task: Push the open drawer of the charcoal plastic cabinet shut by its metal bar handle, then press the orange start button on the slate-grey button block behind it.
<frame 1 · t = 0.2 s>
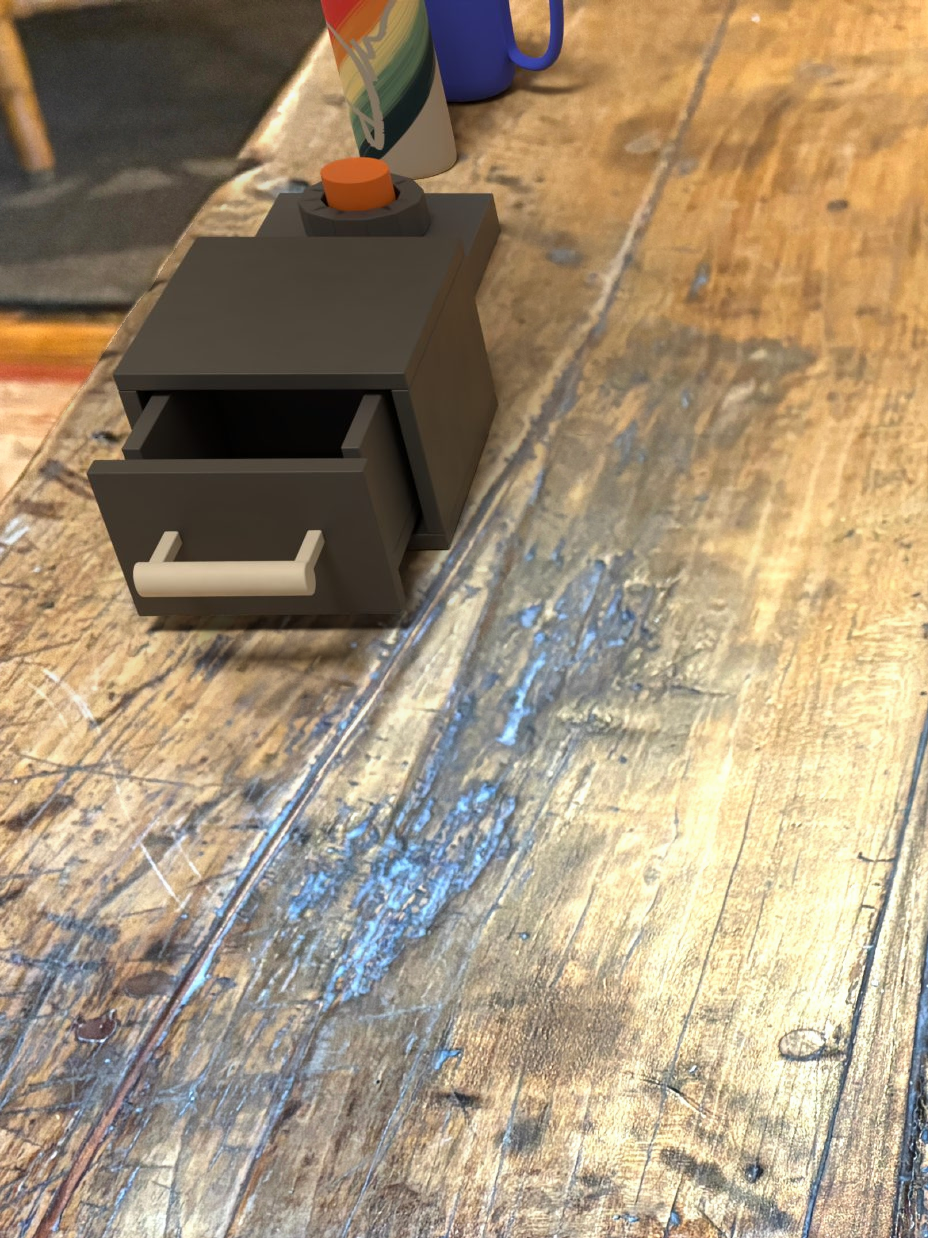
drawer: (273, 492, 99), point 4 cm above the table, slide at 6.0 cm
mug: (493, 94, 144), on the table
lotion bottle: (411, 167, 136), on the table
button block: (378, 267, 125), on the table
button: (358, 186, 122), point 4 cm above the table, slide at 0.1 cm
cabinet: (344, 475, 109), on the table
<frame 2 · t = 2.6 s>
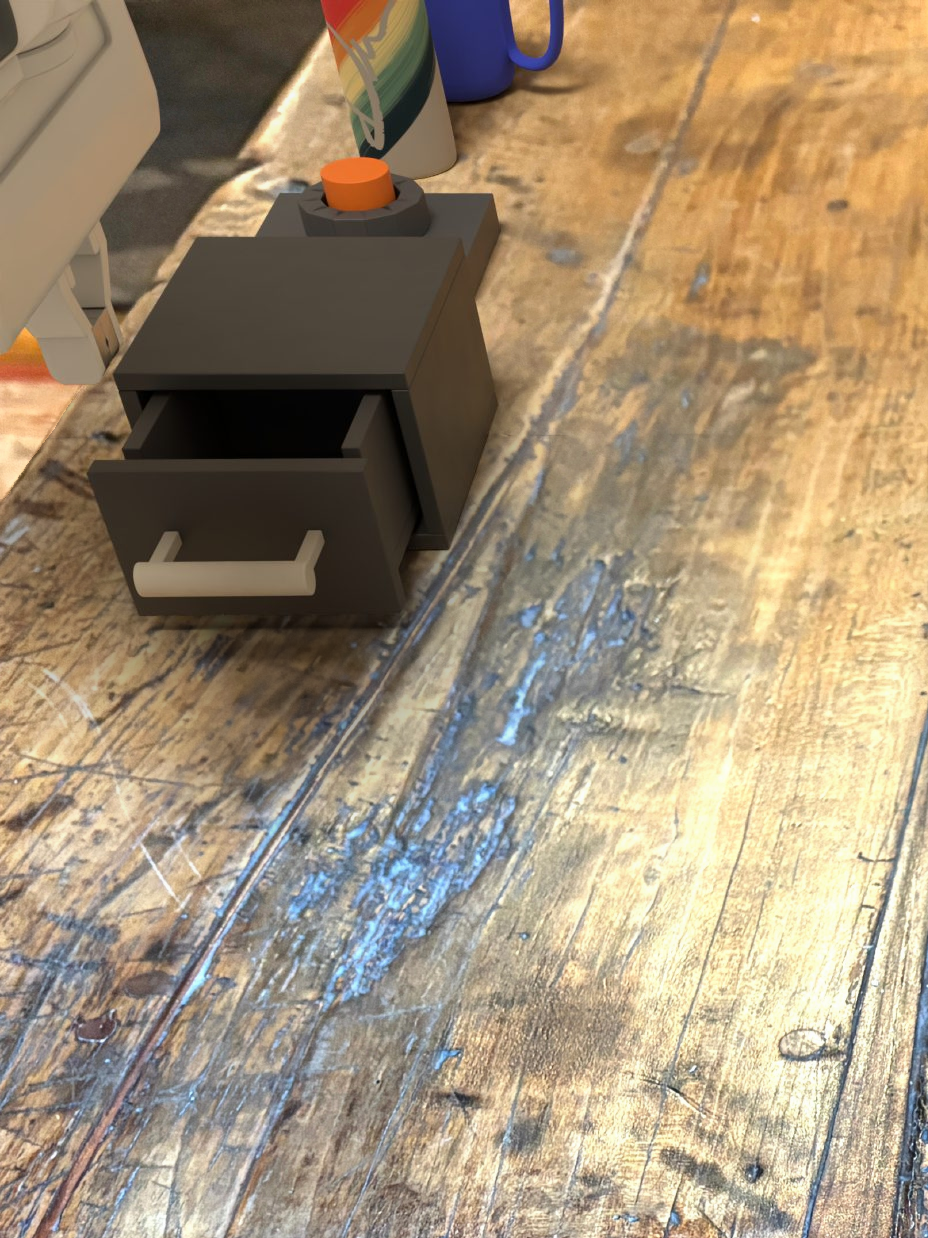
hand: (91, 367, 80), 17 cm above the table, tool pointing down, fingers closed
nothing on the table moved.
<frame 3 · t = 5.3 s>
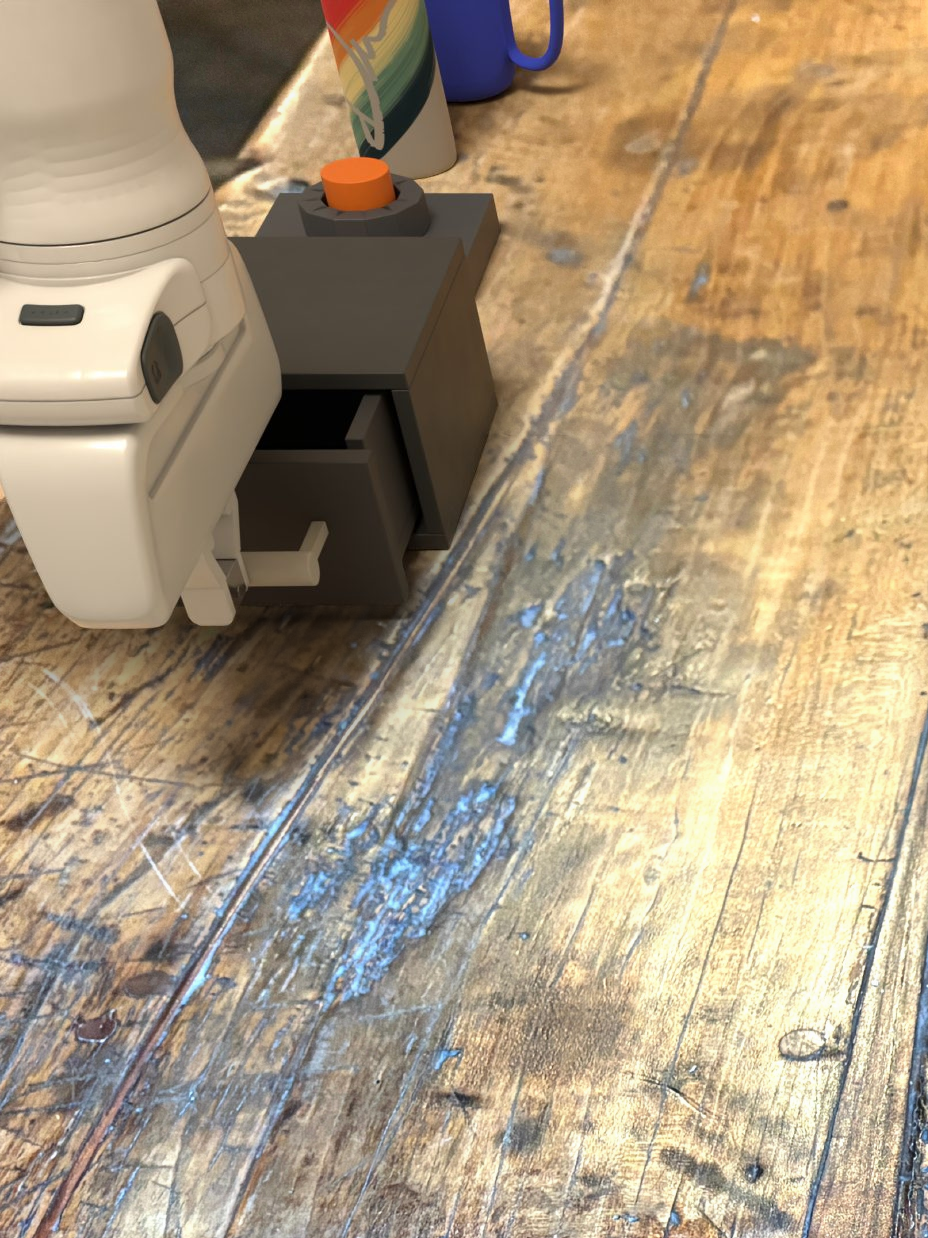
hand: (222, 608, 93), 4 cm above the table, tool pointing down, fingers closed
drawer: (277, 484, 100), point 4 cm above the table, slide at 5.2 cm, touching gripper
everything else where it was.
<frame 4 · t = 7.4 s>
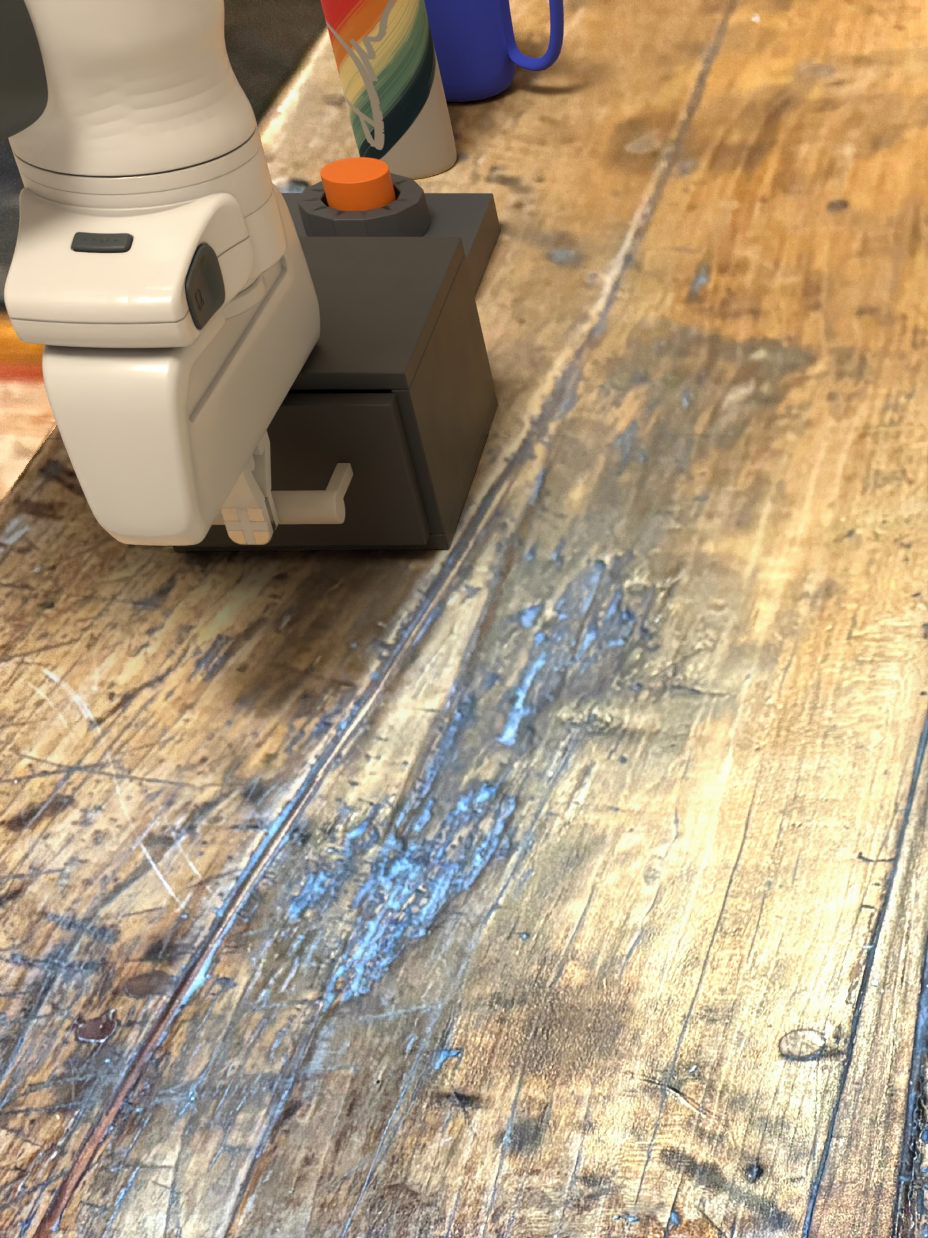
hand: (257, 535, 97), 4 cm above the table, tool pointing down, fingers closed, pressing on drawer
drawer: (302, 428, 103), point 4 cm above the table, slide at 0.0 cm, touching cabinet, gripper
everything else where it was.
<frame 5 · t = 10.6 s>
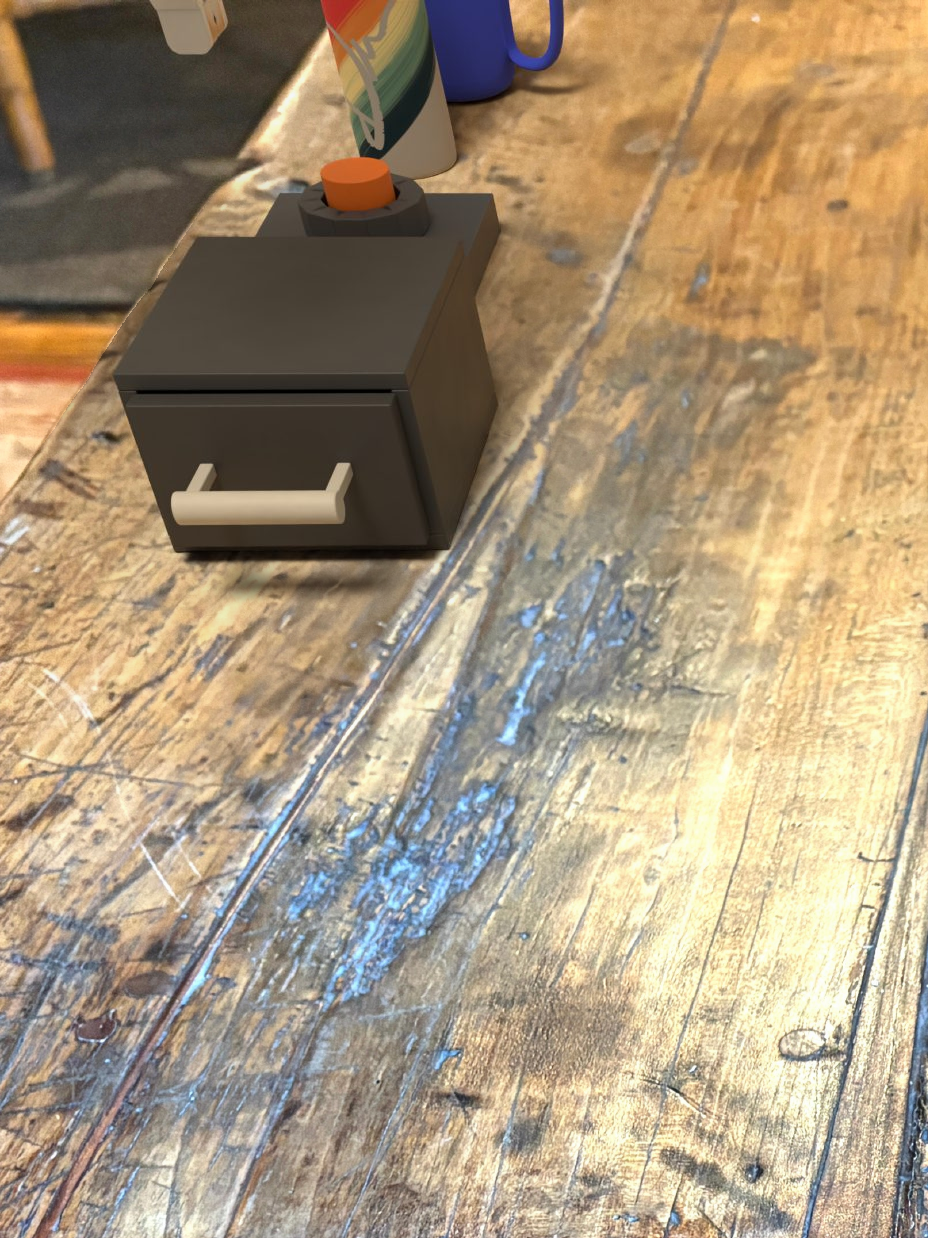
hand: (201, 42, 95), 20 cm above the table, tool pointing down, fingers closed
drawer: (302, 428, 103), point 4 cm above the table, slide at 0.0 cm, touching cabinet
everything else where it was.
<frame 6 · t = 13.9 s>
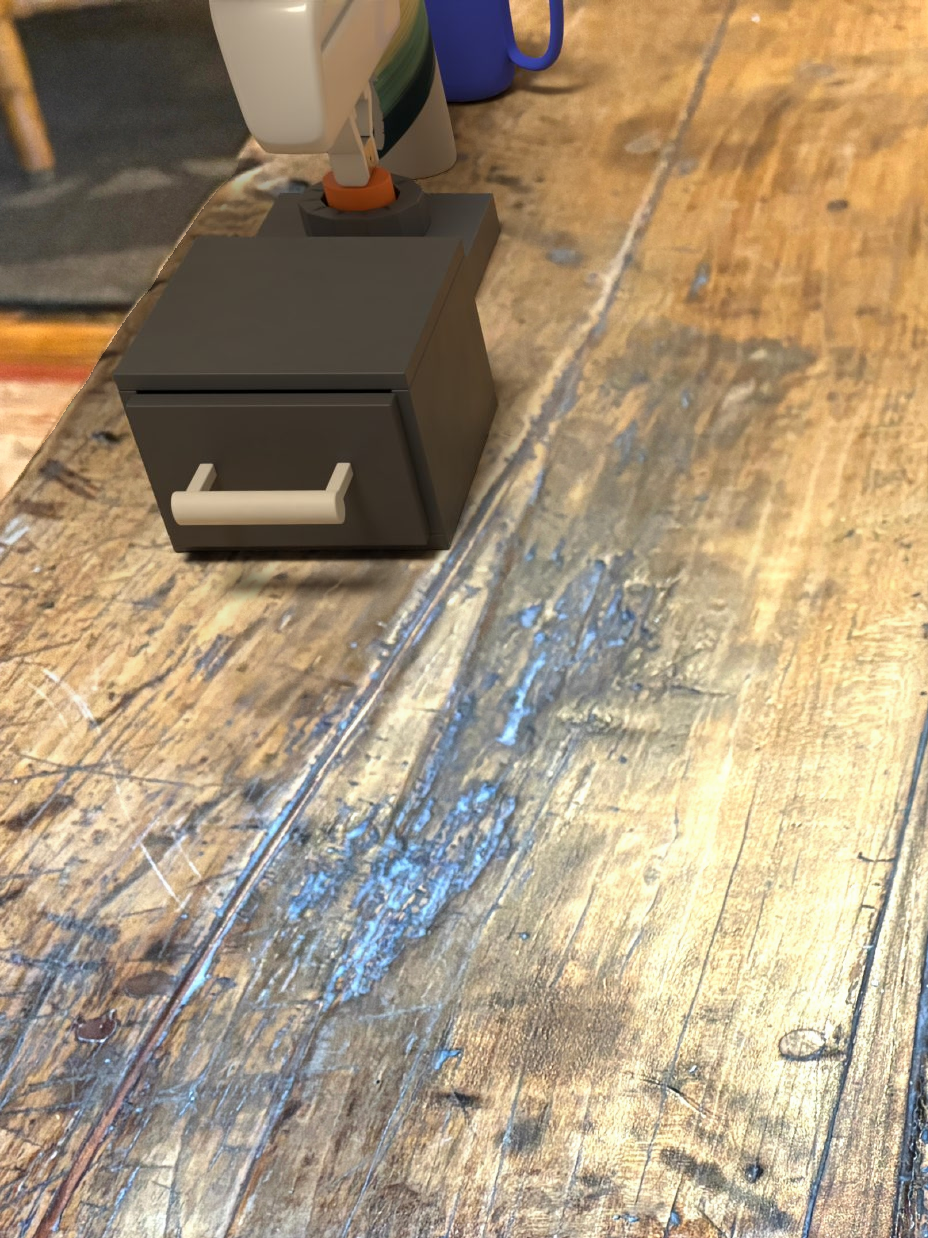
hand: (358, 176, 122), 5 cm above the table, tool pointing down, fingers closed, pressing on button
button: (360, 193, 122), point 4 cm above the table, slide at -0.3 cm, touching gripper
everything else where it was.
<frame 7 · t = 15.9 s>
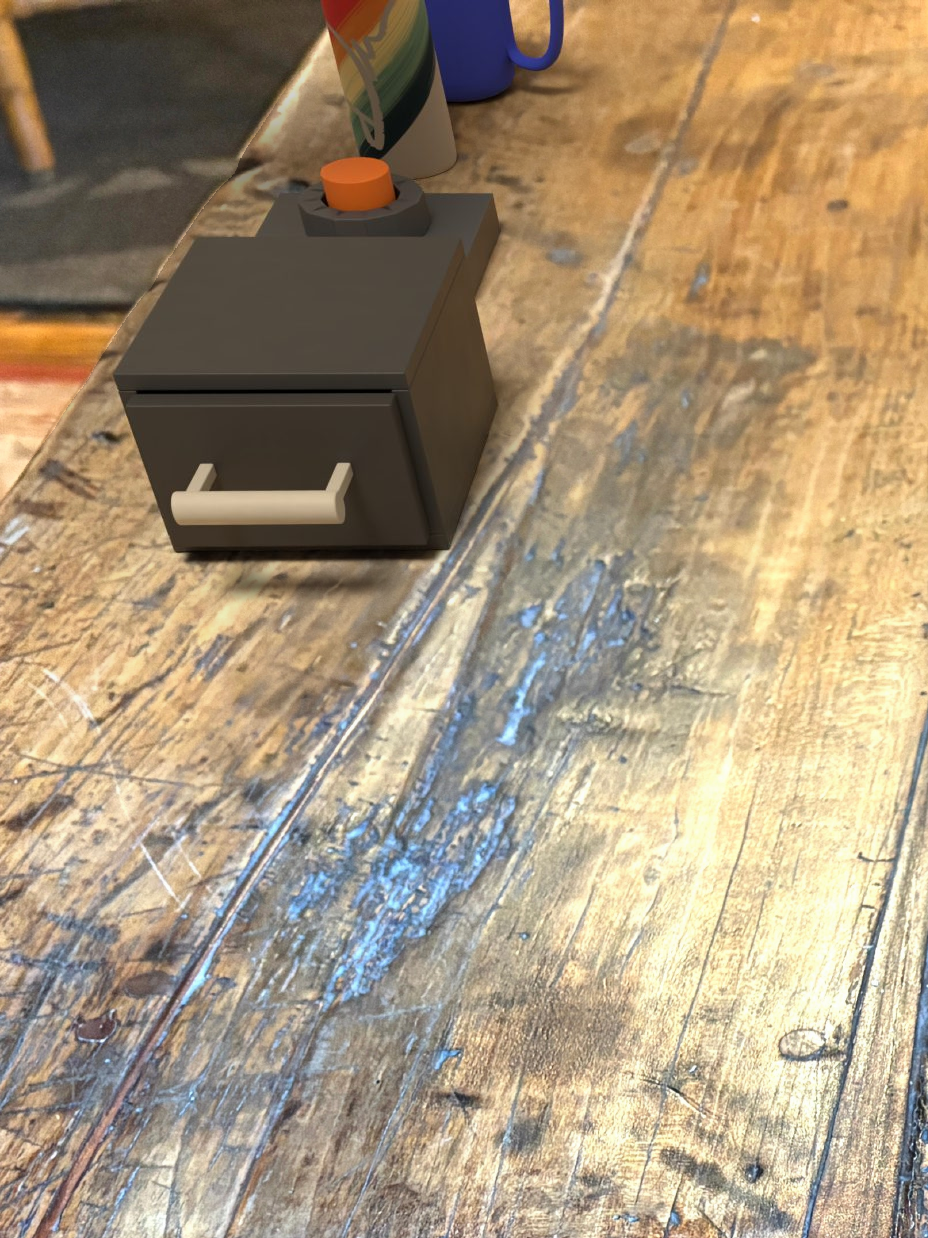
button: (358, 186, 122), point 4 cm above the table, slide at 0.1 cm
everything else where it was.
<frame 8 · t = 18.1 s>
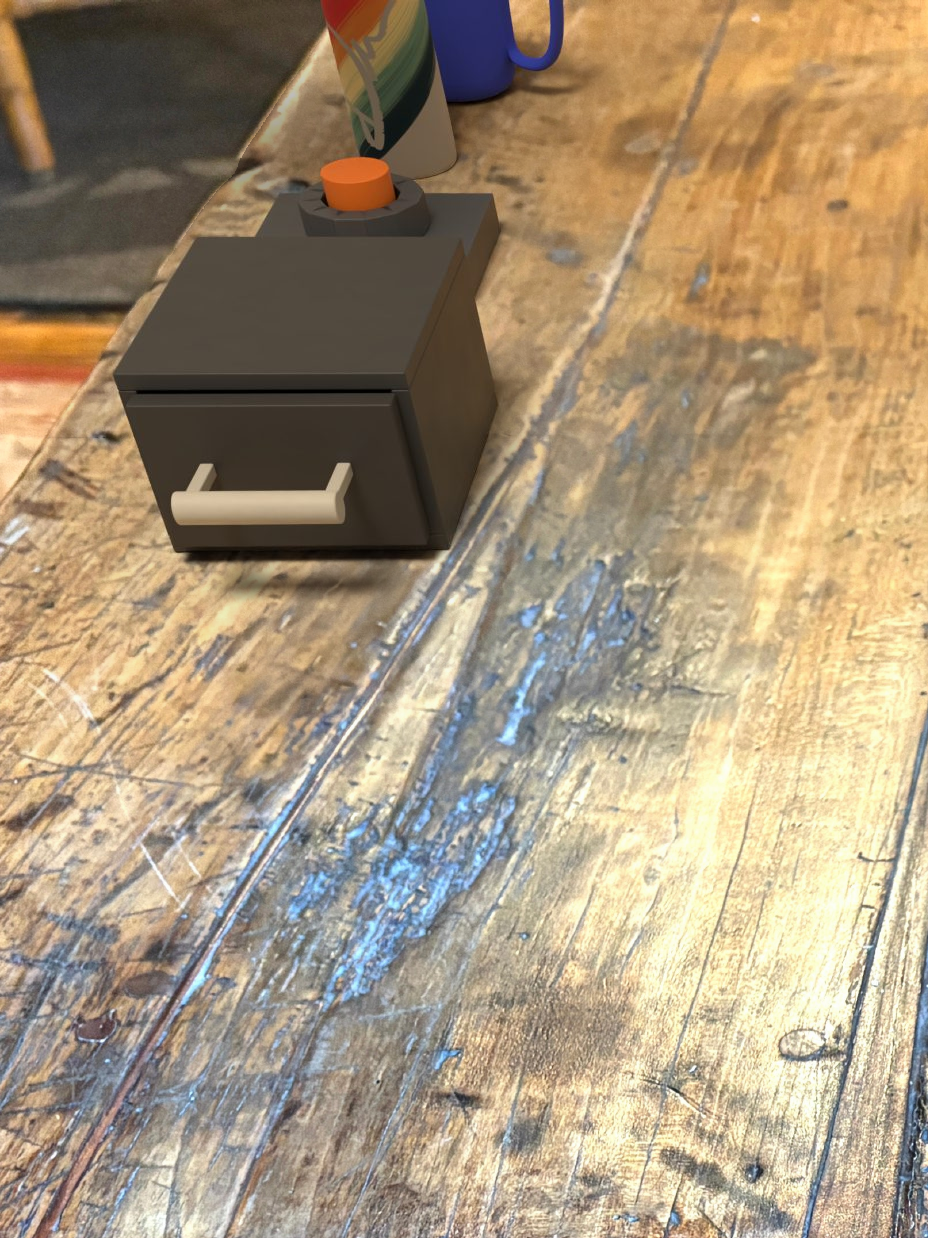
nothing on the table moved.
at the end: drawer slide at 0.0 cm; button pushed in 1.1 cm at the most during the clip, back to where it started at the end; button slide at 0.1 cm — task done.
